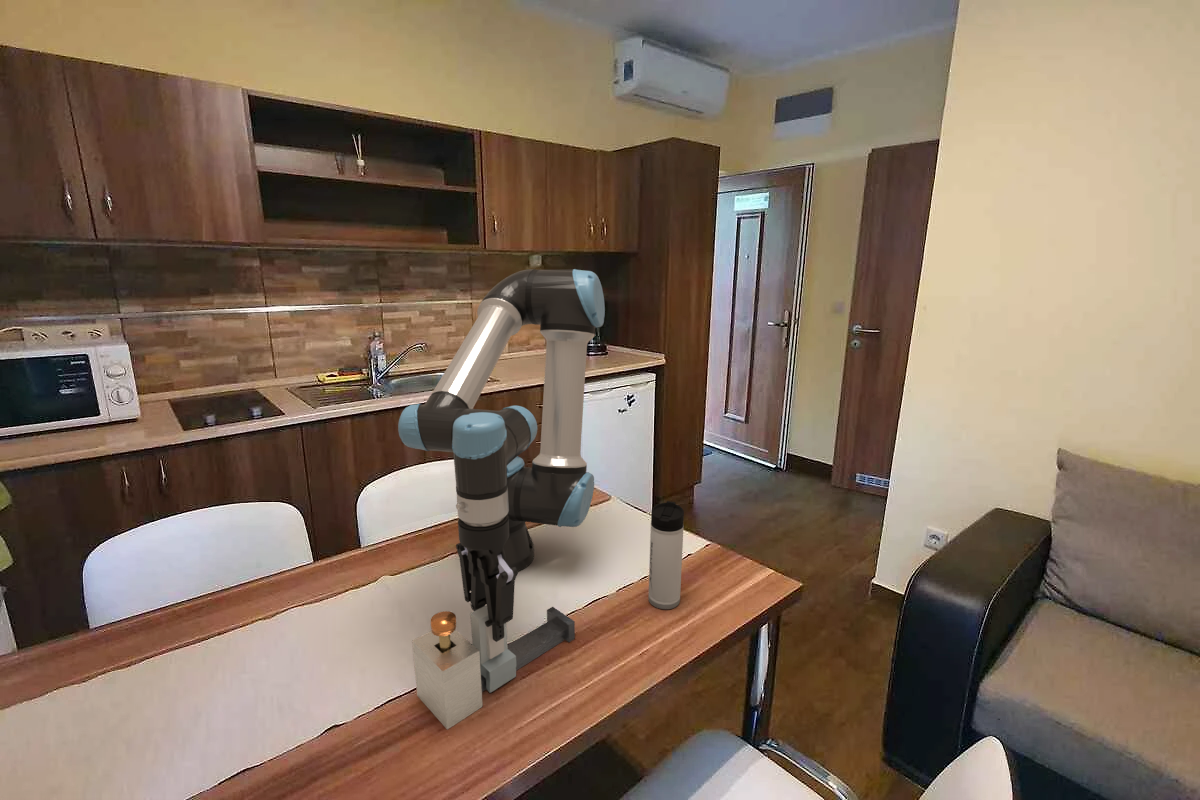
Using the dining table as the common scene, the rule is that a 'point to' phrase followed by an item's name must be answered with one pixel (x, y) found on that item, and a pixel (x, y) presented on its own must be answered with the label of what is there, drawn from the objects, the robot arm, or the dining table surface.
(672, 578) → the travel mug
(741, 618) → the dining table surface
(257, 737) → the dining table surface
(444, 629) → the knob
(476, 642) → the carriage
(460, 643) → the rail
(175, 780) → the dining table surface
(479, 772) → the dining table surface
